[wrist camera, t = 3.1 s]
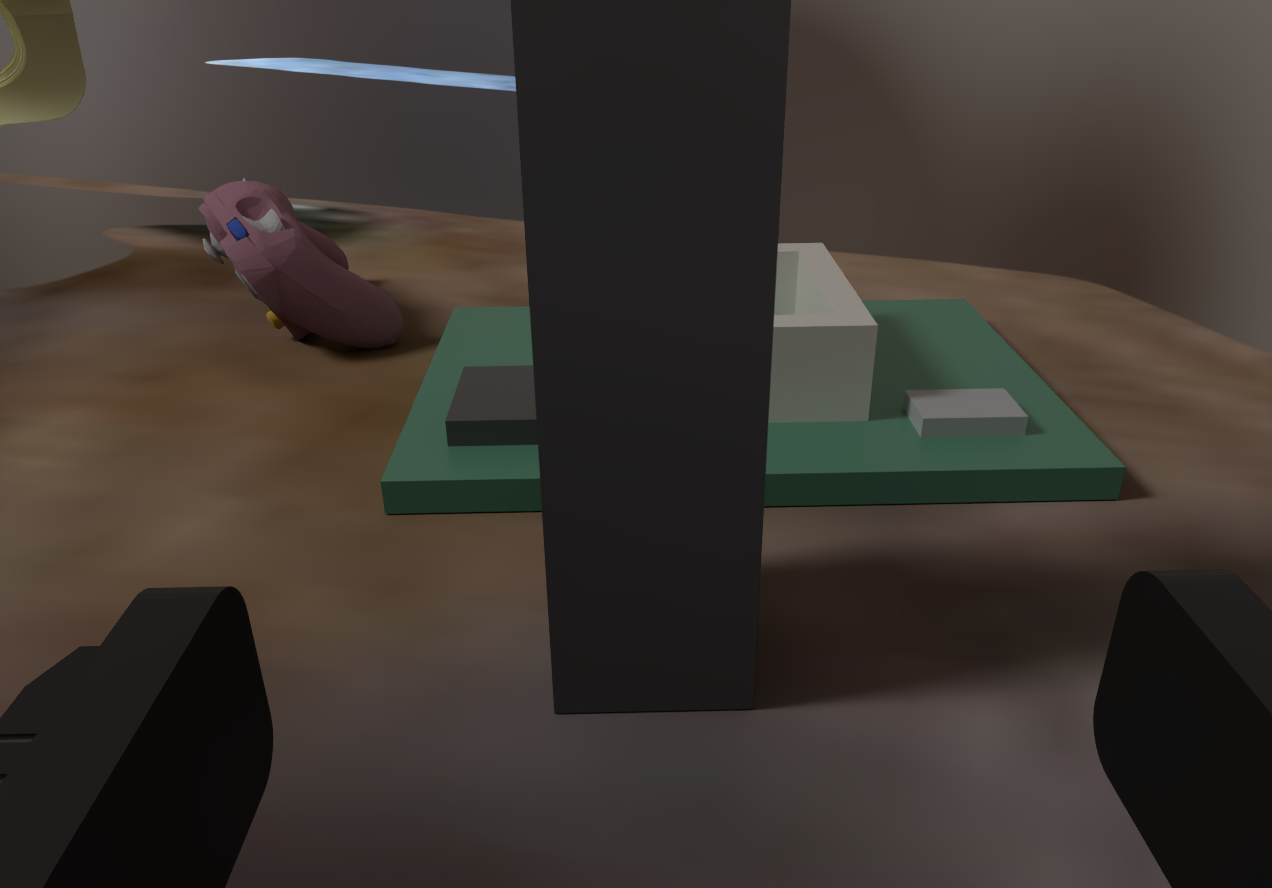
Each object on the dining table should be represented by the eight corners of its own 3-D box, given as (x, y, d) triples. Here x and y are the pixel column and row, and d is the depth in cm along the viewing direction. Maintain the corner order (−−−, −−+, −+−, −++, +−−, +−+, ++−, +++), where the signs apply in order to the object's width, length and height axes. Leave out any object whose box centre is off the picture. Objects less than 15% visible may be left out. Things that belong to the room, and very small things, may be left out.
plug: (554, 713, 20) (490, -336, 13) (564, 577, 25) (521, -268, 17) (753, 708, 20) (808, -339, 13) (728, 574, 25) (759, -270, 17)
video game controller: (269, 326, 45) (162, 195, 41) (353, 268, 46) (257, 133, 42) (319, 406, 38) (195, 253, 34) (420, 334, 38) (310, 177, 34)
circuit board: (385, 513, 27) (365, 377, 26) (456, 331, 40) (446, 231, 38) (1118, 499, 28) (1150, 363, 26) (961, 322, 40) (975, 223, 38)
